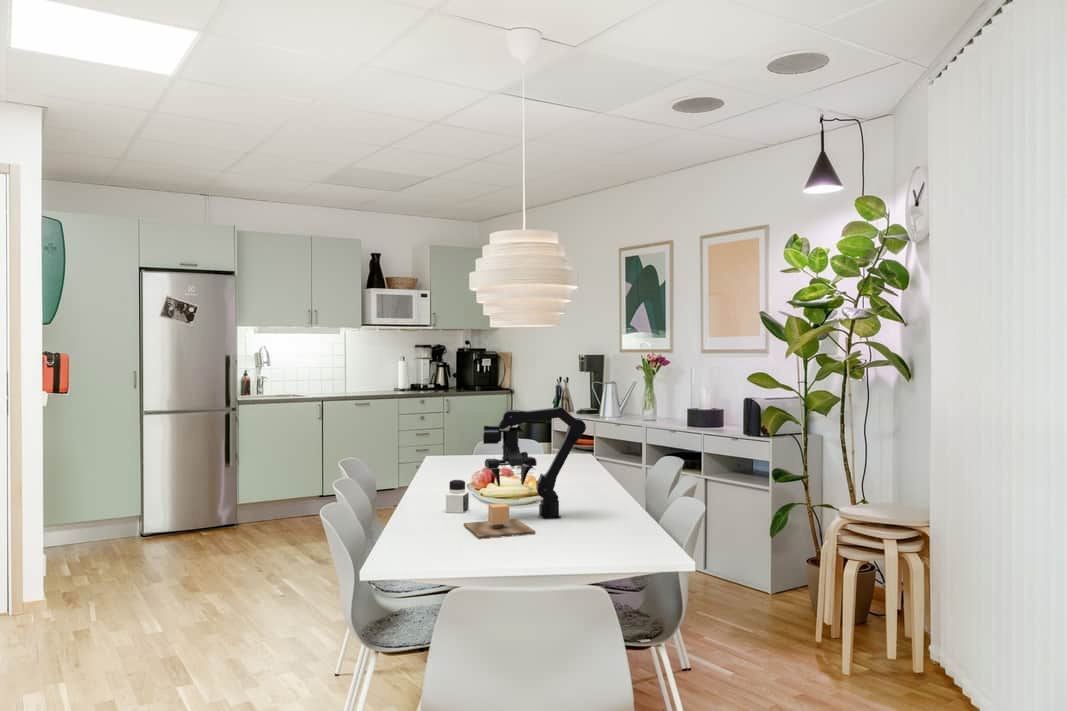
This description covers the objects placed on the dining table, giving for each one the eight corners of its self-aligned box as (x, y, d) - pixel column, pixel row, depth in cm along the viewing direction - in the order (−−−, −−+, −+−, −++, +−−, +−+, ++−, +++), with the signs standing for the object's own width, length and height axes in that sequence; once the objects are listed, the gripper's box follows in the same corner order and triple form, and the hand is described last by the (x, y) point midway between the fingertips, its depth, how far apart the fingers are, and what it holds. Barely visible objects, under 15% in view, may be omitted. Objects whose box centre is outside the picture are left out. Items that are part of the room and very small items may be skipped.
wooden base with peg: (516, 521, 283) (516, 499, 283) (535, 534, 264) (535, 510, 264) (463, 525, 276) (463, 503, 276) (478, 539, 258) (478, 515, 257)
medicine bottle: (463, 513, 297) (463, 482, 297) (445, 512, 298) (445, 481, 298) (468, 509, 304) (468, 479, 304) (451, 508, 305) (451, 478, 305)
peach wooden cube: (504, 520, 274) (504, 503, 274) (509, 523, 268) (509, 506, 268) (488, 521, 272) (488, 504, 272) (493, 524, 266) (493, 507, 266)
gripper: (492, 447, 279) (492, 490, 279) (541, 445, 285) (541, 487, 285) (484, 443, 289) (484, 485, 289) (531, 441, 295) (531, 482, 296)
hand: (510, 485), depth 289 cm, fingers open, 9 cm apart
